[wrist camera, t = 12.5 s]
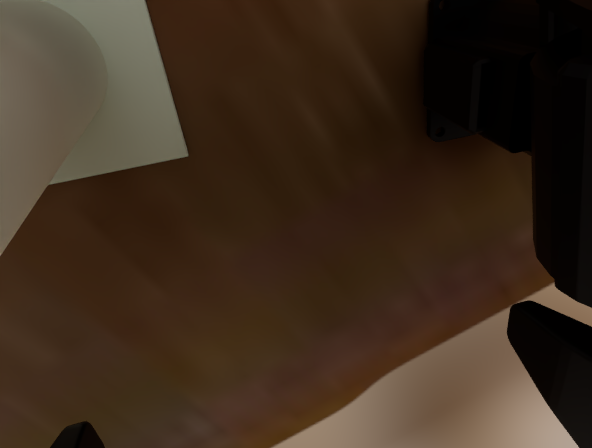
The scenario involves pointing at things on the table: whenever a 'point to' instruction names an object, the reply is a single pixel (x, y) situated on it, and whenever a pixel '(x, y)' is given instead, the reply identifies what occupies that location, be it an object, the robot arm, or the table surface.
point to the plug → (41, 100)
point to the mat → (124, 94)
